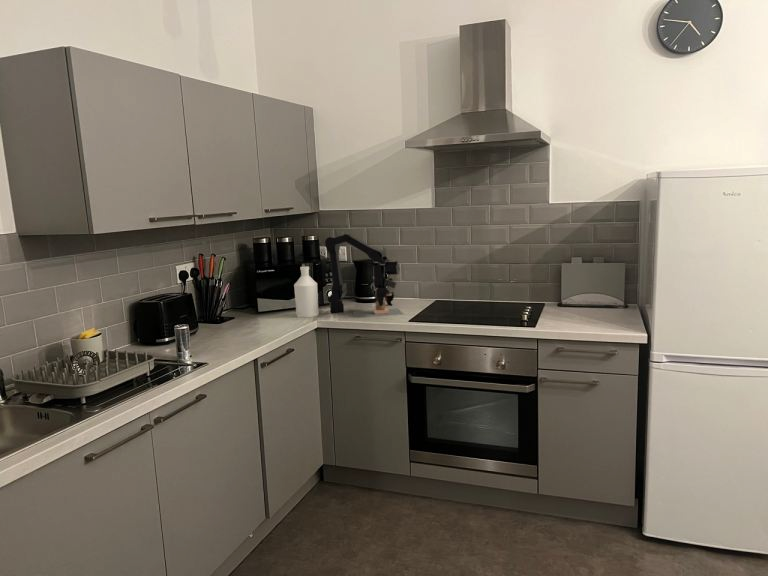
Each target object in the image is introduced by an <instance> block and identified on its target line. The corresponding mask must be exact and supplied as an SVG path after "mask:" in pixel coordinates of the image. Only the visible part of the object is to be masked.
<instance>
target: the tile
mask: <svg viewBox="0 0 768 576" xmlns="http://www.w3.org/2000/svg"><path fill="white" fill-rule="evenodd" d="M388 309H389V308H387V307H385V310H377V309H376V308H372V310H373V313H374V314H387V313H388Z"/></svg>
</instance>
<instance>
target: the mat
mask: <svg viewBox="0 0 768 576" xmlns="http://www.w3.org/2000/svg"><path fill="white" fill-rule="evenodd" d="M387 309H388V313H387V314H374V313H373V309H371V310H359V311H358V310H357V311H352V313H353V315H354V316H355V318H356V319H360V318H361V319H362V318H372V317H373V318H374V317H384V316H397V315H398V316H399V315H404V312H403V311H401V309H399V308H387Z"/></svg>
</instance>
